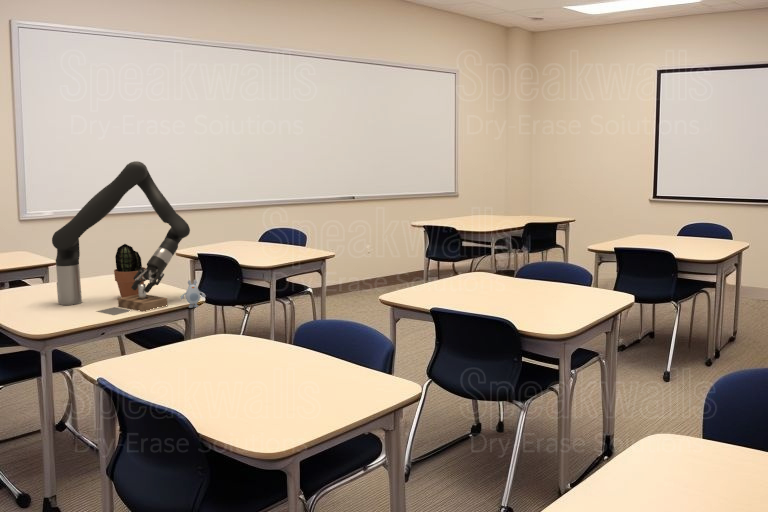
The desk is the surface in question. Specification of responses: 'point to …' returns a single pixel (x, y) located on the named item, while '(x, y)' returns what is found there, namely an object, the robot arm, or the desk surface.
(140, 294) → the metal peg
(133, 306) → the hole block
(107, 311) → the rubber mat
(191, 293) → the toy figure
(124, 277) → the potted plant
